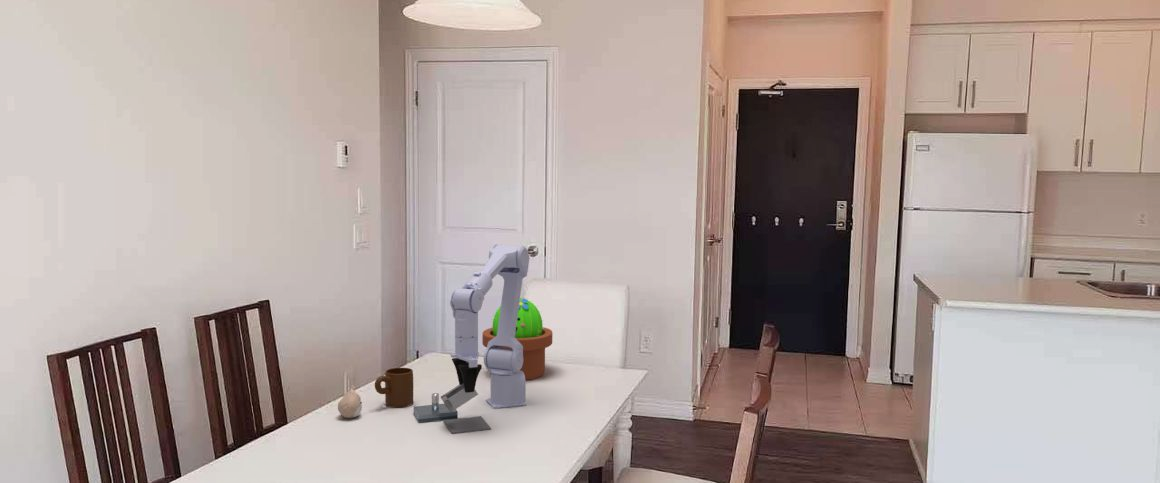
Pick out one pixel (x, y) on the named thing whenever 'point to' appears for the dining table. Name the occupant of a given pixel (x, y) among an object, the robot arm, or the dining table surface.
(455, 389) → the gray tabletop stand
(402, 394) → the mug
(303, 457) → the dining table surface
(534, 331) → the potted cactus
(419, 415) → the metal base with post
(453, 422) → the mat
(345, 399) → the garlic bulb
